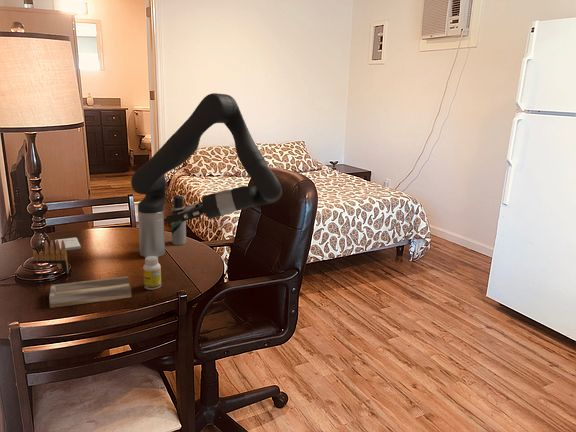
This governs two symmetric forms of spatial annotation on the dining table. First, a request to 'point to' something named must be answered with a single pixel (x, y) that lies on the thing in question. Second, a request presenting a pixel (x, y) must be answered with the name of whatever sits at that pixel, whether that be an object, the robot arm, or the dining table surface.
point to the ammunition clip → (53, 255)
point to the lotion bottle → (178, 223)
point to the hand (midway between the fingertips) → (170, 217)
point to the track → (89, 291)
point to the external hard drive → (70, 243)
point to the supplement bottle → (152, 273)
